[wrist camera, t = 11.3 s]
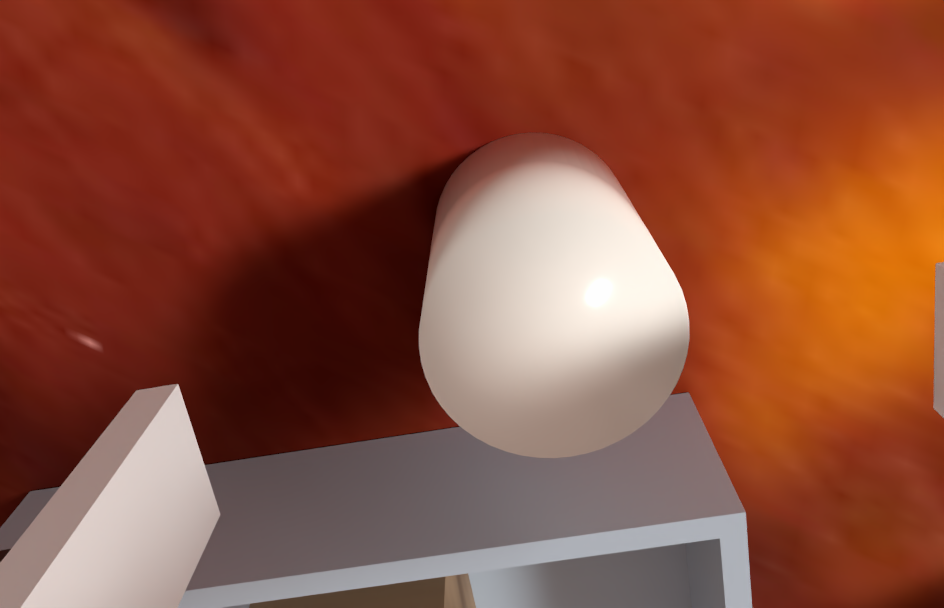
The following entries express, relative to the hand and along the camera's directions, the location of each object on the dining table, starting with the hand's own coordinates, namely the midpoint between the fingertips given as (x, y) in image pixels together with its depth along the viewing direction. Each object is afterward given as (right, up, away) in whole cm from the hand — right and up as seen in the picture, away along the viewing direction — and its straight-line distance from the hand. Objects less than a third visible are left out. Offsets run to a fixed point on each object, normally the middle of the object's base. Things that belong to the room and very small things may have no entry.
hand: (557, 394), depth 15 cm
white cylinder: (0, +4, +7) cm, 8 cm away
